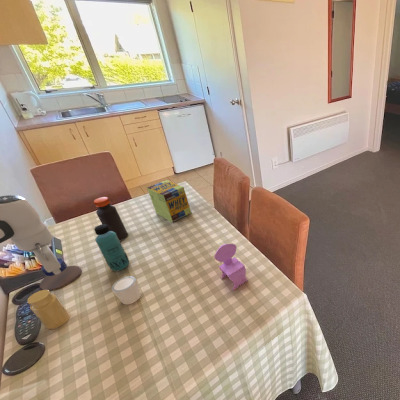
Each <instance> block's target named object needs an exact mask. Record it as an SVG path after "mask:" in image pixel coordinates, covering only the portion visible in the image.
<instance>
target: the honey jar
mask: <svg viewBox="0 0 400 400" xmlns="http://www.w3.org/2000/svg"><path fill="white" fill-rule="evenodd" d="M26 301H27V304H28V305H29V309H30V311H31V312H33V314H34V315H35V317H36V318H37V319H38V320H39V321H40V322H41V323H42V325H44V327H45V328H46V329H47V330H54V329H57V328H59V327H61V326H63V325H65V324H66V323H67V321H69V320H70V318H71V314H70V313H69V312H68V311H69V310H67V309H66V307H65V306H64V304H63V303H62V302H61V301H60V300H59V298H58V297H57V295H56V294H54V293H51V291H49V290H42V289H40V290H39V291H36V292H34V293H33V294H31V295H30V296H29V297H28V298H27V300H26Z"/></svg>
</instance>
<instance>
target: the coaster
mask: <svg viewBox="0 0 400 400" xmlns="http://www.w3.org/2000/svg"><path fill="white" fill-rule="evenodd" d="M82 272H83V270H82V268H81V267H80V266H79V265H67V267H66V269H65V270H64V271H62V272H61V273H59V274H57V275H53V276H46V275H45V276H44V278H42V279H41V281H40V283H39V288H40V290H49V292H51V291H56V290H59V289H63V288H64V287H67V286H68V285H70V284H72V283H73V282H75V281H76V280H78V278H80V276H81V274H82Z"/></svg>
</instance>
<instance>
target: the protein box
mask: <svg viewBox="0 0 400 400" xmlns="http://www.w3.org/2000/svg"><path fill="white" fill-rule="evenodd" d="M146 189H147V192H148V195H149V197H150V200H151V203H152V205H153V208H154V211H155V214H156V213H157V214H156V215H158V214H159V215H158V216H160V217H162V218H164V219H165V220H167V221H169V222H171V223H175V222H177V221H179V220H181V219H183V218H185V217H187V216H188V214H189V215H191V214H192V210H191V206H190V203H189V200H188V197H187V193H186V190H185V187H184V186H182V185H180V184H178V183H175V182H173V181H171V180H168V179H166V180H163V181H161V182H158V183H155V184H153V185H152V184H151V185H150V186H148V187H146Z"/></svg>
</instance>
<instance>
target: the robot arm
mask: <svg viewBox="0 0 400 400" xmlns="http://www.w3.org/2000/svg"><path fill="white" fill-rule="evenodd" d="M9 239H10V240H11V241H12V242H13V244H14V245H15V247H16V248H17V249H18V250H19V251H22V252H27V253H34V256H35V258H36V259H37V260H38V261H39V264H40V265H41V267H42V266H43V267H44V269H45V270H46V271H47V272H48V273H50V272H53V273H54V274H55V275H57V274H59V273H61V271H60V269H59V268H60V267H61V265H60V263H59V262H58V260H57V259H58V258H57V257H56V255H55V253H54V252H53V250H52V249H51V248H50V245H51V244H52V240H53V239H54V235H53V234H52V232H51V231H50V229H49V228H48V226H47V225H46V224H45V223H44V222H43V221H42V219H41V216H40V214H39V213H38V211H37V209H36V208H35V207H34V206H33V204H32V203H31V202H29V201H28V200H27V198H26V197H23V196H21V195H14V194H8V195H2V196H0V244H2V243H4V242H6V241H8V240H9Z"/></svg>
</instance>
